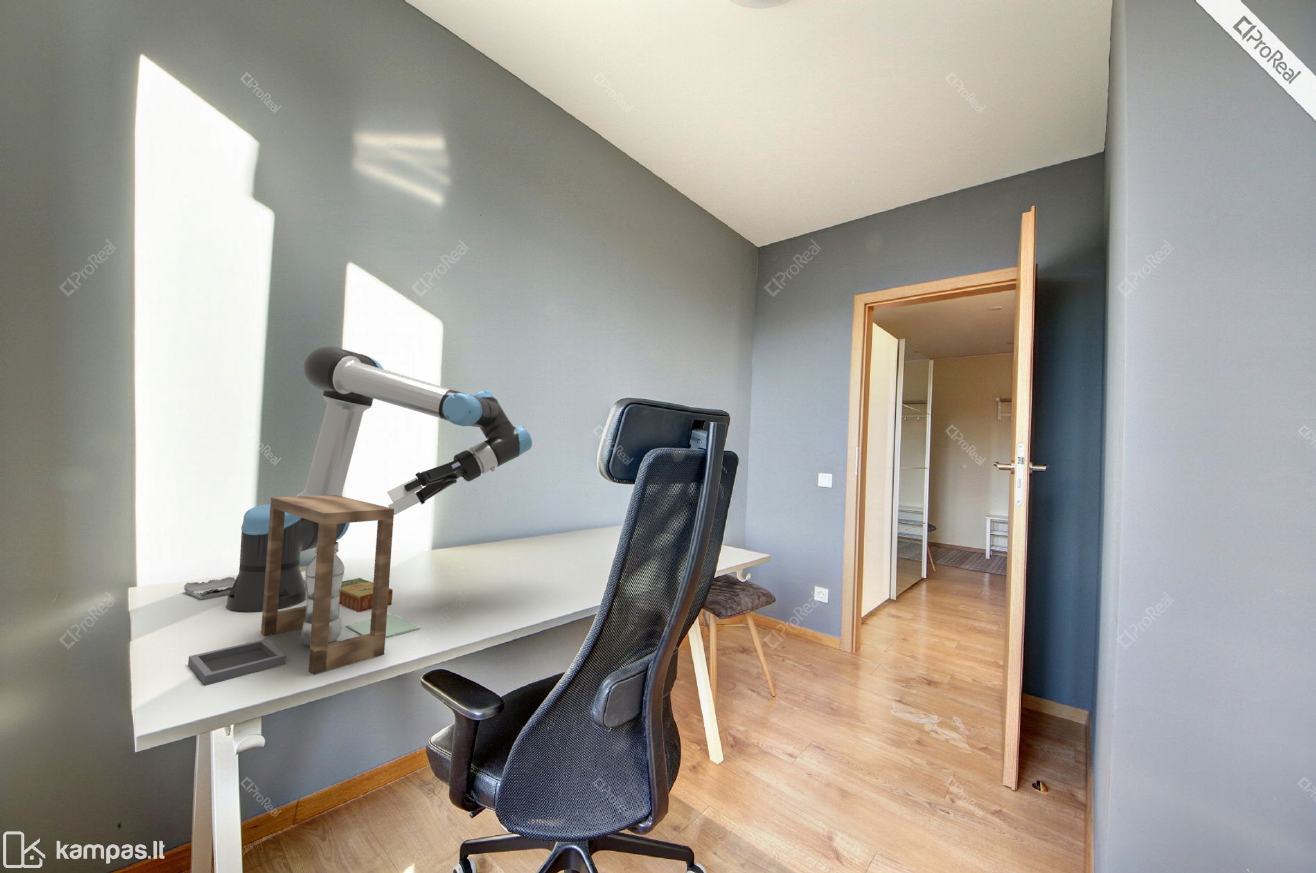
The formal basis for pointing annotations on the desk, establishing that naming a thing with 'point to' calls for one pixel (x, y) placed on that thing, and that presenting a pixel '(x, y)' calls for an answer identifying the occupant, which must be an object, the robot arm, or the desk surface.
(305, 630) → the plastic bottle
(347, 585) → the carton
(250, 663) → the grey shallow rectangular tray
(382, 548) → the wooden stool
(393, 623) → the pad
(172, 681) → the desk surface
